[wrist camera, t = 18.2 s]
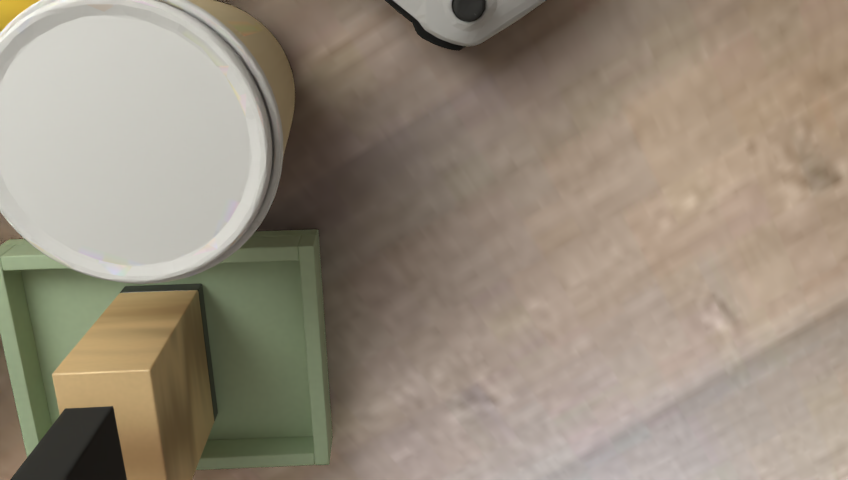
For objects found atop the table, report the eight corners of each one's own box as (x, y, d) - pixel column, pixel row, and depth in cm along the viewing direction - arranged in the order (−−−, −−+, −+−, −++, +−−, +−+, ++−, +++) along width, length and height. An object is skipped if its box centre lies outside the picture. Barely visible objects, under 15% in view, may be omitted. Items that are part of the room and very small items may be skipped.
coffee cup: (150, 216, 36) (43, 327, 25) (64, 16, 33) (-102, 39, 22) (342, 158, 36) (321, 245, 25) (272, -50, 33) (211, -61, 22)
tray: (318, 228, 37) (313, 245, 35) (332, 437, 41) (329, 465, 38) (8, 239, 37) (-18, 256, 34) (51, 449, 40) (31, 478, 38)
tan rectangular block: (124, 285, 37) (50, 373, 29) (202, 282, 37) (150, 369, 29) (145, 416, 39) (81, 532, 31) (218, 413, 39) (174, 527, 31)
